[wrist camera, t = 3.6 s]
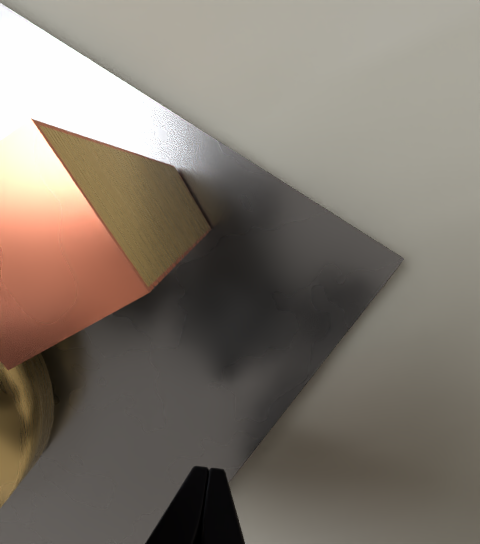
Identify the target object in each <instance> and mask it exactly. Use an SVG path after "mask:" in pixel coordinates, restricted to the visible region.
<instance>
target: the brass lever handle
mask: <svg viewBox="0 0 480 544" xmlns="http://www.w3.org/2000/svg"><path fill="white" fill-rule="evenodd" d="M210 230H211V228H210V226H209V224H208V223H207V221H206V219H205V218H204V216H203V214H202V212H201V211H200V209H199V207H198V206H197V204H196V202H195V200H194V199H193V197H192V195H191V194H190V192H189V190H188V188H187V187H186V185H185V183H184V182H183V180H182V178H181V176H180V175H179V173H178V171H177V170H176V168H175V166H173V165H170V164H167V163H164V162H161V161H158V160H155V159H152V158H149V157H146V156H143V155H140V154H137V153H134V152H131V151H128V150H125V149H122V148H119V147H116V146H113V145H110V144H107V143H104V142H101V141H97V140H94V139H91V138H88V137H85V136H82V135H79V134H76V133H73V132H70V131H67V130H64V129H61V128H58V127H55V126H52V125H49V124H46V123H43V122H40V121H37V120H34V119H29V120H28V121H27V122H25V123H24V124H22V125H21V126H20V127H18V128H17V129H16V130H14V131H13V132H11V133H10V134H9V135H7V136H6V137H5V138H3V139H2V140H1V141H0V508H1V507H2V506H3V504H4V503H5V502H6V501H7V499H8V498H9V497H10V496H11V494H12V493H13V492H14V490H15V489H16V488H17V487H18V485H19V484H20V483H21V482H22V480H23V479H24V478H25V476H26V475H27V474H28V473H29V471H30V470H31V469H32V468H33V466H34V465H35V464H36V462H37V461H38V459H39V458H40V456H41V455H42V453H43V451H44V450H45V447H46V445H47V442H48V440H49V437H50V435H51V430H52V425H53V420H54V397H53V389H52V383H51V379H50V375H49V372H48V368H47V365H46V362H45V360H44V358H43V355H42V353H41V352H43V351H44V350H46V349H48V348H50V347H52V346H54V345H55V344H57V343H59V342H61V341H63V340H64V339H66V338H68V337H70V336H72V335H73V334H75V333H77V332H79V331H81V330H83V329H84V328H86V327H88V326H90V325H92V324H93V323H95V322H97V321H99V320H101V319H102V318H104V317H106V316H108V315H110V314H112V313H113V312H115V311H117V310H119V309H121V308H122V307H124V306H126V305H128V304H130V303H131V302H133V301H135V300H137V299H139V298H141V297H142V296H144V295H146V294H148V293H149V292H150V291H151V290H152V289H153V288H154V287H155V286H156V285H157V284H158V283H159V282H160V281H161V280H162V279H163V278H164V277H165V276H166V275H167V274H168V273H169V272H170V271H171V270H172V269H173V268H174V267H175V266H176V265H177V264H178V263H179V262H180V261H181V260H182V259H183V258H184V257H185V256H186V255H187V254H188V253H189V252H190V251H191V250H192V249H193V248H194V247H195V246H196V245H197V244H198V243H199V242H200V241H201V240H202V239H203V238H204V237H205V236H206V235H207V234H208V233H209V231H210Z"/></svg>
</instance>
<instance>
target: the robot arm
mask: <svg viewBox="0 0 480 544" xmlns="http://www.w3.org/2000/svg"><path fill="white" fill-rule="evenodd" d="M145 544H245V542H244V538H243V534H242V531H241V527H240V523H239V520H238V516H237V512H236V509H235V505H234V502H233V498H232V494H231V491H230V487H229V483H228V480H227V476H226V473H225V471H224V469H219V468H210V469H208V468H207V467H203V466H194V467H193V468H192V469H191V471H190V473H189V474H188V476H187V477H186V479H185V480H184V482H183V484H182V485H181V487H180V488H179V490H178V492H177V493H176V495H175V496H174V498H173V500H172V501H171V503H170V504H169V506H168V508H167V509H166V511H165V512H164V514H163V516H162V517H161V519H160V520H159V522H158V524H157V525H156V527H155V528H154V530H153V532H152V533H151V535H150V536H149V538H148V540H147V541H146V543H145Z"/></svg>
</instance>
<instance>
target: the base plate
mask: <svg viewBox="0 0 480 544" xmlns="http://www.w3.org/2000/svg"><path fill="white" fill-rule="evenodd" d="M29 119H34V120H37V121H40V122H43V123H46V124H49V125H52V126H55V127H58V128H61V129H64V130H67V131H70V132H73V133H76V134H79V135H82V136H85V137H88V138H91V139H94V140H97V141H101V142H104V143H107V144H110V145H113V146H116V147H119V148H122V149H125V150H128V151H131V152H134V153H137V154H140V155H143V156H146V157H149V158H152V159H155V160H158V161H161V162H164V163H167V164H170V165H173V166H175V168H176V170H177V171H178V173H179V175H180V176H181V178H182V180H183V182H184V183H185V185H186V187H187V188H188V190H189V192H190V194H191V195H192V197H193V199H194V200H195V202H196V204H197V206H198V207H199V209H200V211H201V212H202V214H203V216H204V218H205V219H206V221H207V223H208V224H209V226H210V228H211V230H210V231H209V233H208V234H207V235H206V236H205V237H204V238H203V239H202V240H201V241H200V242H199V243H198V244H197V245H196V246H195V247H194V248H193V249H192V250H191V251H190V252H189V253H188V254H187V255H186V256H185V257H184V258H183V259H182V260H181V261H180V262H179V263H178V264H177V265H176V266H175V267H174V268H173V269H172V270H171V271H170V272H169V273H168V274H167V275H166V276H165V277H164V278H163V279H162V280H161V281H160V282H159V283H158V284H157V285H156V286H155V287H154V288H153V289H152V290H151V291H150V292H149V293H148V294H146V295H144V296H142V297H141V298H139V299H137V300H135V301H133V302H131V303H130V304H128V305H126V306H124V307H122V308H121V309H119V310H117V311H115V312H113V313H112V314H110V315H108V316H106V317H104V318H102V319H101V320H99V321H97V322H95V323H93V324H92V325H90V326H88V327H86V328H84V329H83V330H81V331H79V332H77V333H75V334H73V335H72V336H70V337H68V338H66V339H64V340H63V341H61V342H59V343H57V344H55V345H54V346H52V347H50V348H48V349H46V350H44V351H43V352H41V353H42V355H43V358H44V360H45V362H46V365H47V368H48V372H49V375H50V379H51V383H52V389H53V397H54V420H53V425H52V430H51V435H50V437H49V440H48V442H47V445H46V447H45V450H44V451H43V453H42V455H41V456H40V458H39V459H38V461H37V462H36V464H35V465H34V466H33V468H32V469H31V470H30V471H29V473H28V474H27V475H26V476H25V478H24V479H23V480H22V482H21V483H20V484H19V485H18V487H17V488H16V489H15V490H14V492H13V493H12V494H11V496H10V497H9V498H8V499H7V501H6V502H5V503H4V504H3V506H2V507H1V508H0V544H145V543H146V541H147V540H148V538H149V536H150V535H151V533H152V532H153V530H154V528H155V527H156V525H157V524H158V522H159V520H160V519H161V517H162V516H163V514H164V512H165V511H166V509H167V508H168V506H169V504H170V503H171V501H172V500H173V498H174V496H175V495H176V493H177V492H178V490H179V488H180V487H181V485H182V484H183V482H184V480H185V479H186V477H187V476H188V474H189V473H190V471H191V469H192V468H193V467H194V466H203V467H207V468H208V469H210V468H219V469H224V471H225V473H226V476H227V480H228V483H229V482H230V480H231V479H232V478H233V477H234V475H235V474H236V473H237V472H238V470H239V469H240V468H241V466H242V465H243V464H244V463H245V461H246V460H247V459H248V457H249V456H250V455H251V454H252V452H253V451H254V450H255V449H256V447H257V446H258V445H259V443H260V442H261V441H262V440H263V438H264V437H265V436H266V435H267V433H268V432H269V431H270V429H271V428H272V427H273V426H274V424H275V423H276V422H277V420H278V419H279V418H280V417H281V415H282V414H283V413H284V412H285V410H286V409H287V408H288V406H289V405H290V404H291V403H292V401H293V400H294V399H295V398H296V396H297V395H298V394H299V392H300V391H301V390H302V389H303V387H304V386H305V385H306V384H307V382H308V381H309V380H310V378H311V377H312V376H313V375H314V373H315V372H316V371H317V369H318V368H319V367H320V366H321V364H322V363H323V362H324V361H325V359H326V358H327V357H328V355H329V354H330V353H331V352H332V350H333V349H334V348H335V347H336V345H337V344H338V343H339V341H340V340H341V339H342V338H343V336H344V335H345V334H346V332H347V331H348V330H349V329H350V327H351V326H352V325H353V324H354V322H355V321H356V320H357V318H358V317H359V316H360V315H361V313H362V312H363V311H364V310H365V308H366V307H367V306H368V304H369V303H370V302H371V301H372V299H373V298H374V297H375V295H376V294H377V293H378V292H379V290H380V289H381V288H382V287H383V285H384V284H385V283H386V281H387V280H388V279H389V278H390V276H391V275H392V274H393V273H394V271H395V270H396V269H397V267H398V266H399V265H400V264H401V262H402V261H403V260H404V258H402V257H401V256H399V255H398V254H396V253H394V252H393V251H391V250H390V249H388V248H387V247H385V246H383V245H382V244H380V243H379V242H377V241H375V240H374V239H372V238H371V237H369V236H368V235H366V234H364V233H363V232H361V231H360V230H358V229H357V228H355V227H353V226H352V225H350V224H349V223H347V222H345V221H344V220H342V219H341V218H339V217H338V216H336V215H334V214H333V213H331V212H330V211H328V210H326V209H325V208H323V207H322V206H320V205H319V204H317V203H315V202H314V201H312V200H311V199H309V198H308V197H306V196H304V195H303V194H301V193H300V192H298V191H296V190H295V189H293V188H292V187H290V186H289V185H287V184H285V183H284V182H282V181H281V180H279V179H278V178H276V177H274V176H273V175H271V174H270V173H268V172H266V171H265V170H263V169H262V168H260V167H259V166H257V165H255V164H254V163H252V162H251V161H249V160H248V159H246V158H244V157H243V156H241V155H240V154H238V153H236V152H235V151H233V150H232V149H230V148H229V147H227V146H225V145H224V144H222V143H221V142H219V141H217V140H216V139H214V138H213V137H211V136H210V135H208V134H206V133H205V132H203V131H202V130H200V129H199V128H197V127H195V126H194V125H192V124H191V123H189V122H187V121H186V120H184V119H183V118H181V117H180V116H178V115H176V114H175V113H173V112H172V111H170V110H169V109H167V108H165V107H164V106H162V105H161V104H159V103H157V102H156V101H154V100H153V99H151V98H150V97H148V96H146V95H145V94H143V93H142V92H140V91H139V90H137V89H135V88H134V87H132V86H131V85H129V84H127V83H126V82H124V81H123V80H121V79H120V78H118V77H116V76H115V75H113V74H112V73H110V72H108V71H107V70H105V69H104V68H102V67H101V66H99V65H97V64H96V63H94V62H93V61H91V60H90V59H88V58H86V57H85V56H83V55H82V54H80V53H78V52H77V51H75V50H74V49H72V48H71V47H69V46H67V45H66V44H64V43H63V42H61V41H60V40H58V39H56V38H55V37H53V36H52V35H50V34H48V33H47V32H45V31H44V30H42V29H41V28H39V27H37V26H36V25H34V24H33V23H31V22H30V21H28V20H26V19H25V18H23V17H22V16H20V15H18V14H17V13H15V12H14V11H12V10H11V9H9V8H7V7H6V6H4V5H3V4H1V3H0V141H1V140H2V139H3V138H5V137H6V136H7V135H9V134H10V133H11V132H13V131H14V130H16V129H17V128H18V127H20V126H21V125H22V124H24V123H25V122H27V121H28V120H29Z"/></svg>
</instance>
